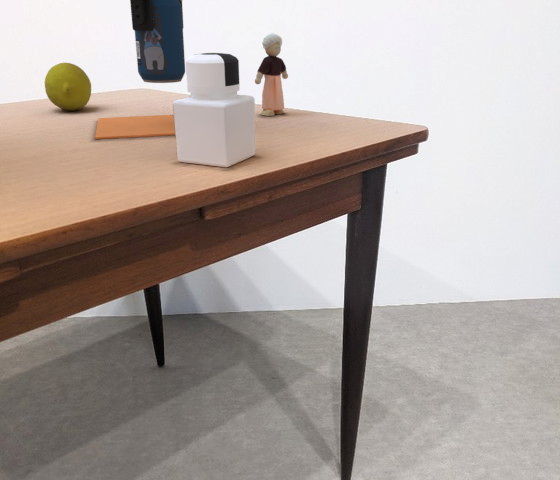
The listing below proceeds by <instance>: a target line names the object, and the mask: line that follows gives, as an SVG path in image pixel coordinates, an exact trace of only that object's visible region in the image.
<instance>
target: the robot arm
mask: <svg viewBox="0 0 560 480" xmlns="http://www.w3.org/2000/svg"><path fill="white" fill-rule="evenodd" d="M179 2H180V4H181V6H182V7H183V0H179ZM129 3H130V13H131V26H132V30H133V31H134V32H135V31H153V29H154V24H153V10H152V0H129ZM182 22H183V23H184V12H183V8H182Z"/></svg>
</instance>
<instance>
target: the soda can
mask: <svg viewBox="0 0 560 480" xmlns="http://www.w3.org/2000/svg"><path fill="white" fill-rule="evenodd" d="M182 9H183V5H182V6H181V4H180V2H179V0H152V10H153V24H154V29H153V31H134V37H135V38H134V41H135V50H136V61H137V62H136V63H137V72H138V75H139V76H140V78H141V80H142V81H143V82H144V83H150V84H169V83H170V84H173V83H179V82H182V80H183V78H184V76H185V74H186V60H185V59H186V58H185V41H184V40H185V39H184V21H183V22H182Z"/></svg>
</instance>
